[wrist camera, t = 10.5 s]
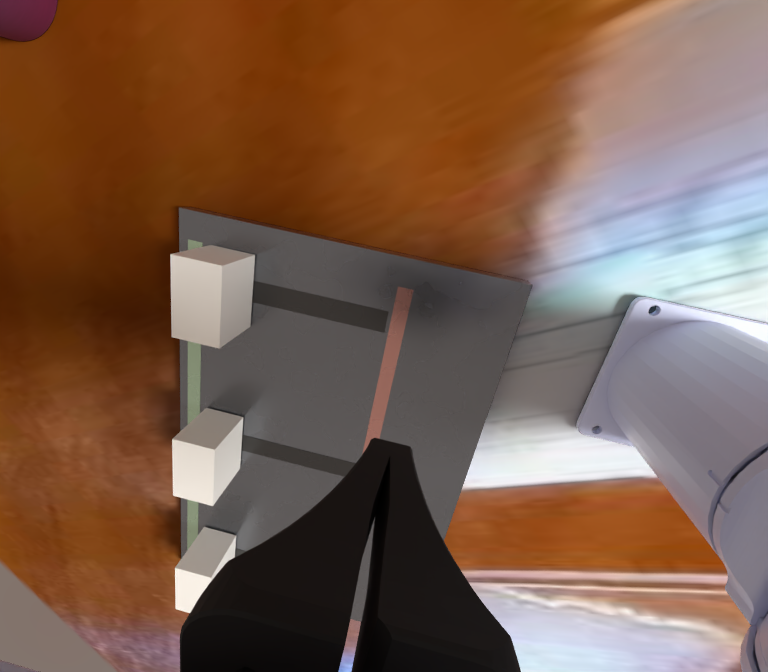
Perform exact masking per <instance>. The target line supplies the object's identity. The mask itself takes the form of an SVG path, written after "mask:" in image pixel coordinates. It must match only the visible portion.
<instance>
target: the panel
mask: <svg viewBox="0 0 768 672" xmlns="http://www.w3.org/2000/svg"><path fill="white" fill-rule="evenodd" d="M208 245H214V246H218V247H222V248H227V249H231V250H236V251H240V252H245V253H249V254H254V255H255V265H254V280H253V295H252V310H251V324H250V327H249V328H248V329H246V330H245V331H243V332H242V333H241V334H239V335H238V336H236V337H235V338H234V339H232V340H231V341H229V342H228V343H227V344H225V345H224V346H222V347H221V348H215V347H211V346H206V345H202V344H198V343H194V342H190V341H186V340H182V339H180V431H181V430H183V429H184V428H185V427H186V426H187V425H188V424H189V423H190V422H191V421H192V420H193V419H194V418H196V417H197V416H198V415H199V414H200V413H201V412H202V411H203V410H204V409H205V408H209V409H213V410H217V411H221V412H225V413H229V414H233V415H237V416H241V417H243V431H242V446H241V461H240V469H239V471H238V472H237V473H236V475H235V476H234V478H233V479H232V480H231V482H230V483H229V485H228V486H227V487H226V489H225V490H224V491H223V493H222V494H221V496H220V497H219V498H218V500H217V501H216V502H215V504H214V505H213V506H210V505H207V504H203V503H199V502H195V501H191V500H188V499H184V498H181V559H182V557H183V556H184V555H185V553H186V552H187V550H188V549H189V547H190V546H191V545H192V543H193V542H194V540H195V539H196V538H197V536H198V535H199V533H200V532H201V530H202V529H203V528H204V527H207V528H210V529H214V530H218V531H222V532H225V533H229V534H233V535H236V547H235V557H237V556H238V555H240V554H242V553H244V552H246V551H248V550H250V549H252V548H254V547H256V546H257V545H259V544H261V543H263V542H264V541H266V540H268V539H269V538H271V537H272V536H274V535H275V534H277V533H279V532H280V531H282V530H283V529H285V528H286V527H288V526H289V525H291V524H292V523H294V522H295V521H296V520H298V519H299V518H300V517H302V516H303V515H304V514H305V513H307V512H308V511H309V510H311V509H312V508H313V507H314V506H315V505H316V504H318V503H319V502H320V501H321V500H322V499H323V498H324V497H325V496H326V495H328V494H329V493H330V492H331V491H332V490H333V489H334V488H335V487H336V485H337V484H338V483H339V482H340V481H341V480H342V479H343V478H344V477H345V476H346V475H347V474H348V472H349V471H350V470H351V469H352V467H353V466H354V465H355V464H356V463H357V461H358V460H359V459H360V457H361V456H362V454H363V453H364V451H365V450H366V448H367V446H368V445H369V443H370V440H371V439H373V438H379V439H383V440H387V441H391V442H395V443H399V444H403V445H407V446H410V447H411V449H412V451H413V458H414V463H415V468H416V471H417V475H418V479H419V482H420V485H421V488H422V491H423V494H424V497H425V500H426V503H427V505H428V508H429V510H430V513H431V515H432V518H433V520H434V522H435V524H436V527H437V529H438V531H439V533H440V535H441V537H442V539H443V541H444V538H445V536H446V533H447V530H448V527H449V524H450V521H451V518H452V515H453V513H454V510H455V507H456V504H457V501H458V498H459V495H460V492H461V490H462V487H463V484H464V481H465V478H466V475H467V472H468V469H469V466H470V464H471V461H472V458H473V455H474V452H475V449H476V446H477V443H478V441H479V438H480V435H481V432H482V429H483V426H484V423H485V420H486V417H487V415H488V412H489V409H490V406H491V403H492V400H493V397H494V394H495V392H496V389H497V386H498V383H499V380H500V377H501V374H502V371H503V369H504V366H505V363H506V360H507V357H508V354H509V351H510V348H511V345H512V343H513V340H514V337H515V334H516V331H517V328H518V325H519V322H520V320H521V317H522V314H523V311H524V308H525V305H526V302H527V299H528V296H529V294H530V291H531V288H532V284H531V283H530V282H529V281H527V280H522V279H517V278H513V277H508V276H504V275H499V274H495V273H490V272H486V271H481V270H476V269H472V268H467V267H463V266H458V265H454V264H449V263H445V262H440V261H435V260H431V259H426V258H422V257H417V256H413V255H408V254H403V253H399V252H394V251H390V250H385V249H381V248H376V247H372V246H367V245H362V244H358V243H353V242H349V241H344V240H340V239H335V238H331V237H326V236H321V235H317V234H312V233H308V232H303V231H299V230H294V229H290V228H285V227H280V226H276V225H271V224H267V223H262V222H258V221H253V220H249V219H244V218H239V217H235V216H230V215H226V214H221V213H217V212H212V211H207V210H203V209H198V208H194V207H179V252H182V251H186V250H191V249H195V248H199V247H204V246H208ZM374 520H375V518H374ZM373 529H374V522H373V525H372V528H371V531H370V534H369V538H368V541H367V544H366V547H365V551H364V554H363V557H362V561H361V566H360V571H359V576H358V582H357V587H356V592H355V597H354V602H353V608H352V613H351V618H350V619H353V620H357V621H360V622H361V621H362V615H363V610H364V605H365V600H366V593H367V586H368V577H369V567H370V558H371V548H372V539H373Z"/></svg>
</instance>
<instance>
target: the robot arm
mask: <svg viewBox="0 0 768 672" xmlns="http://www.w3.org/2000/svg"><path fill="white" fill-rule="evenodd" d="M654 305H656V310H655V311H654V312H653V313H649V309H650V307H652V306H654ZM576 426H577V429H578V431H579V432H580V433H581V434H584V435H587V436H591V437H596V438H600V439H604V440H608V441H612V442H616V443H621V444H625V445H629V446H633V447H635V448H636V449H637V451H638V452H639V453H640V454H641V456H642V457H643V458H644V460H645V461H646V462H647V464H648V465H649V466H650V468H651V469H652V470H653V471H654V473H655V474H656V475H657V477H658V478H659V479H660V481H661V482H662V483H663V484H664V486H665V487H666V488H667V490H668V491H669V492H670V494H671V495H672V496H673V497H674V499H675V500H676V501H677V503H678V504H679V505H680V507H681V508H682V509H683V510H684V512H685V513H686V514H687V516H688V517H689V518H690V520H691V521H692V522H693V524H694V525H695V526H696V527H697V529H698V530H699V531H700V533H701V534H702V535H703V537H704V538H705V539H706V540H707V542H708V543H709V544H710V546H711V547H712V548H713V550H714V551H715V552H716V553H717V555H718V556H719V557H720V559H721V560H722V561H723V563H724V565H725V567H726V568H727V572H728V581H727V584H726V586H725V590H726V591H727V593H728V594H729V596H730V597H731V598H732V600H733V601H734V602H735V604H736V605H737V607H738V608H739V609H740V611H741V612H742V614H743V615H744V616H745V618H746V619H747V621H748V622H749V623H750V625H752V626H751V627H750V628H749V629H748V631H747V633H746V634H745V637H744V639H743V642H742V645H741V661H740V662H741V667H742V672H768V323H764V322H759V321H754V320H750V319H745V318H741V317H736V316H731V315H727V314H722V313H718V312H713V311H708V310H704V309H699V308H695V307H690V306H686V305H681V304H676V303H672V302H667V301H663V300H658V299H653V298H649V297H638V298H636V299H634V300H633V301H632V302H631V304H630V306H629V308H628V310H627V312H626V315H625V317H624V319H623V321H622V323H621V326H620V328H619V330H618V332H617V334H616V337H615V339H614V341H613V343H612V345H611V348H610V350H609V352H608V354H607V356H606V359H605V361H604V363H603V365H602V367H601V370H600V372H599V374H598V376H597V379H596V381H595V383H594V385H593V387H592V390H591V392H590V394H589V396H588V398H587V401H586V403H585V405H584V407H583V409H582V412H581V414H580V416H579V418H578V420H577V423H576ZM595 426H599V428H598V429H596V430H592V428H593V427H595ZM374 518H375V520H374ZM373 522H374V529H373V539H372V548H371V558H370V567H369V577H368V586H367V593H366V600H365V605H364V610H363V615H362V621H361V626H360V631H359V636H358V641H357V646H356V652H355V657H354V662H353V667H352V672H521V671H520V667H519V663H518V660H517V656H516V653H515V650H514V646H513V643H512V640H511V637H510V635H509V634H508V633H507V632H506V631H505V629H504V628H503V627H502V626H501V625H500V623H499V622H498V621H497V620H496V619H495V617H494V616H493V615H492V614H491V613H490V611H489V610H488V609H487V608H486V606H485V605H484V604H483V603H482V601H481V600H480V599H479V597H478V596H477V594H476V593H475V592H474V590H473V589H472V587H471V586H470V584H469V583H468V581H467V580H466V578H465V576H464V575H463V573H462V572H461V570H460V569H459V567H458V565H457V564H456V562H455V561H454V559H453V557H452V555H451V554H450V552H449V550H448V548H447V546H446V545H445V543H444V541H443V539H442V537H441V535H440V533H439V531H438V529H437V527H436V524H435V522H434V520H433V518H432V515H431V513H430V510H429V508H428V505H427V503H426V500H425V497H424V494H423V491H422V488H421V485H420V482H419V479H418V475H417V471H416V468H415V463H414V458H413V451H412V449H411V447H410V446H407V445H403V444H399V443H395V442H391V441H387V440H383V439H379V438H373V439H371V440H370V443H369V445H368V446H367V448H366V450H365V451H364V453H363V454H362V456H361V457H360V459H359V460H358V461H357V463H356V464H355V465H354V466H353V467H352V469H351V470H350V471H349V472H348V474H347V475H346V476H345V477H344V478H343V479H342V480H341V481H340V482H339V483H338V484H337V485H336V487H335V488H334V489H333V490H332V491H331V492H330V493H329V494H328V495H326V496H325V497H324V498H323V499H322V500H321V501H320V502H319V503H318V504H316V505H315V506H314V507H313V508H312V509H311V510H309V511H308V512H307V513H305V514H304V515H303V516H302V517H300V518H299V519H298V520H296V521H295V522H294V523H292V524H291V525H289V526H288V527H286V528H285V529H283V530H282V531H280V532H279V533H277V534H275V535H274V536H272V537H271V538H269V539H268V540H266V541H264V542H263V543H261V544H259V545H257V546H256V547H254V548H252V549H250V550H248V551H246V552H244V553H242V554H240V555H238V556H237V557H235V558H233V559H231V560H229V561H228V562H227V563H226V564H225V565H224V566H223V567H222V569H221V570H220V571H219V572H218V573H217V575H216V576H215V577H214V578H213V580H212V581H211V582H210V583H209V585H208V586H207V588H206V589H205V590H204V592H203V593H202V594H201V596H200V597H199V599H198V600H197V602H196V604H195V606H194V607H193V609H192V611H191V612H190V614H189V616H188V618H187V619H186V621H185V623H184V624H183V626H182V629H181V634H180V672H338V670H339V666H340V662H341V658H342V654H343V650H344V646H345V642H346V637H347V632H348V627H349V623H350V618H351V613H352V608H353V602H354V597H355V592H356V587H357V582H358V576H359V571H360V566H361V561H362V557H363V554H364V551H365V547H366V544H367V541H368V538H369V534H370V531H371V528H372V525H373ZM0 672H39V671H35V670H32V669H29V668H25V667H22V666H19V665H15V664H12V663H9V662H5V661H2V660H0Z"/></svg>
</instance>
